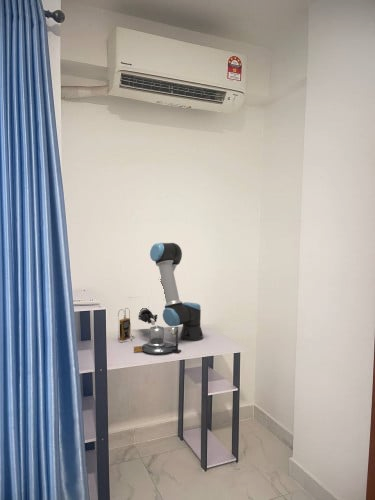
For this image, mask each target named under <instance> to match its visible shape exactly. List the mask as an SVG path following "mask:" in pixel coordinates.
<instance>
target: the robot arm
mask: <svg viewBox="0 0 375 500" xmlns="http://www.w3.org/2000/svg"><path fill="white" fill-rule="evenodd" d="M149 256H150V259H151V260H152V261H153V262H155V266H157V267H158V270H159V274H160V275H161V279H160V280H161V281H160V282H161V284H162V286H163V289H164V294H165V299H164V300H165V305H164V309H163V311H162V319H163V321H164V322H165V324H167V326H169V327H178V326H182V327H181V330H180V333H179V338H180V339H181V340H182V341H187V342H189V341H190V342H194V341H201V340H203V339H204V334H203V330H202V327H201V320H202V319H201V316H202V315H201V313H202V310H201V309H202V308H201V304H199V303H197V302H196V303H195V302H189V301H187V302H183V301H181V300H180V296H179V292H178V286H177V283H176V282H177V281H176V278H175V271H176V269H177V265H179V264H180V263H181V260H182V256H183V250H182V248H181V247H180V245H179V244H177V243H175V242H159V243H158V242H156V243H154V244H153V245H152V246H151V248H150V252H149ZM138 320H140V321H142V322H145V323H147V324H151V325H152V326H156V323H157V320H158V314H153V313H152V311H151V310H150V309H149V308H148V309H147V308H142V309H141V310H140V312H139V315H138Z"/></svg>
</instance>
